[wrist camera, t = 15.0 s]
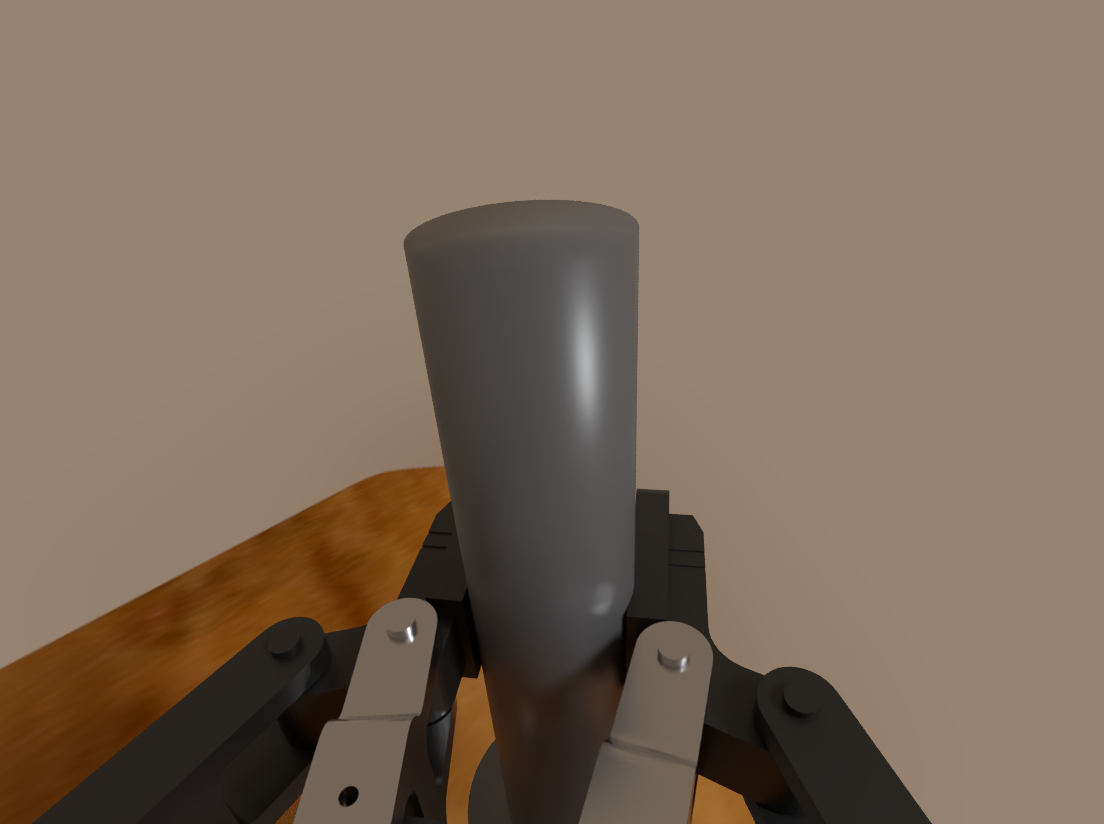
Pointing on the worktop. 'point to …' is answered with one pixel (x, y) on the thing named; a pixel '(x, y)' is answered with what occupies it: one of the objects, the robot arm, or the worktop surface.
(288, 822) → the worktop surface
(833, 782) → the robot arm
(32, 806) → the worktop surface
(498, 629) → the grey pestle
